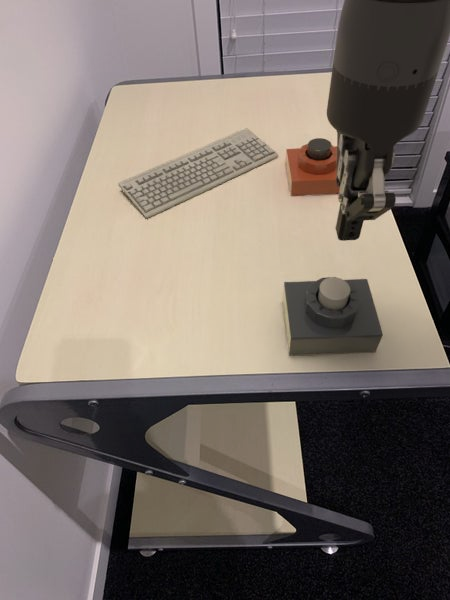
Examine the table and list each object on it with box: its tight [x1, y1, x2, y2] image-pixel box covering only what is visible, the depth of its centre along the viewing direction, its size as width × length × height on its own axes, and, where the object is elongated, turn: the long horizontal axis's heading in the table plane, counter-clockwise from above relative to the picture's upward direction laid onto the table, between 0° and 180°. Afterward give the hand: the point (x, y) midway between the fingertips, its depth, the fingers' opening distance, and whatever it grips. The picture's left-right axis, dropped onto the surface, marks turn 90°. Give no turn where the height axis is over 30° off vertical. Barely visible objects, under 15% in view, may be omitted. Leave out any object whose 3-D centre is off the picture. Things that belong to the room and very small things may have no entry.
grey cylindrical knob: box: [318, 276, 350, 310], centre depth 52 cm, size 4×4×2 cm
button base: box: [285, 143, 340, 197], centre depth 76 cm, size 10×10×5 cm
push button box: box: [282, 276, 384, 356], centre depth 55 cm, size 11×9×6 cm
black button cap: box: [307, 137, 333, 161], centre depth 74 cm, size 4×4×2 cm
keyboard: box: [117, 127, 279, 219], centre depth 80 cm, size 29×10×2 cm, turn 125°
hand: (346, 235), depth 45 cm, fingers closed
